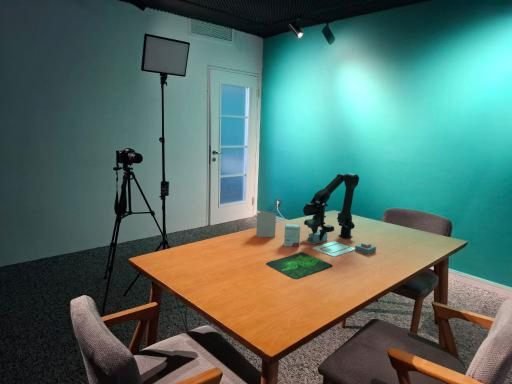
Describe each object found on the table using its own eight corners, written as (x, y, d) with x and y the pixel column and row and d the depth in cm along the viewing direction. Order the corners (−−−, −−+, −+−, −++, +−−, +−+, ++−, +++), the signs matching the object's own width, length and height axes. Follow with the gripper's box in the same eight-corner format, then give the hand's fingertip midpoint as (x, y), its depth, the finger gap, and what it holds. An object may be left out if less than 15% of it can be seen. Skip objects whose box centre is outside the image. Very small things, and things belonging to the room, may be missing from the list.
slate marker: (321, 238, 210) (322, 230, 209) (326, 240, 206) (327, 232, 205) (305, 242, 201) (306, 234, 200) (311, 244, 198) (311, 236, 197)
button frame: (363, 247, 196) (363, 242, 196) (375, 251, 190) (376, 246, 190) (354, 250, 191) (355, 245, 191) (367, 254, 185) (368, 249, 185)
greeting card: (275, 236, 209) (276, 213, 206) (269, 240, 203) (270, 215, 200) (259, 233, 215) (260, 209, 212) (253, 236, 209) (254, 212, 206)
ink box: (298, 244, 198) (300, 224, 196) (299, 247, 193) (300, 227, 191) (283, 243, 199) (285, 223, 196) (283, 246, 194) (284, 226, 192)
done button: (364, 246, 193) (365, 241, 193) (370, 248, 190) (371, 243, 190) (360, 248, 191) (361, 243, 190) (366, 250, 188) (367, 245, 187)
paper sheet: (334, 241, 204) (334, 241, 204) (356, 249, 193) (356, 248, 193) (312, 248, 192) (312, 247, 192) (334, 257, 180) (334, 256, 180)
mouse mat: (295, 281, 152) (295, 279, 152) (263, 264, 168) (263, 262, 168) (334, 266, 169) (334, 265, 169) (301, 253, 186) (301, 251, 185)
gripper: (298, 212, 203) (296, 237, 206) (323, 219, 189) (321, 246, 192) (311, 209, 210) (309, 234, 213) (335, 216, 196) (333, 242, 199)
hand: (317, 239), depth 204 cm, fingers closed on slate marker, 4 cm apart
